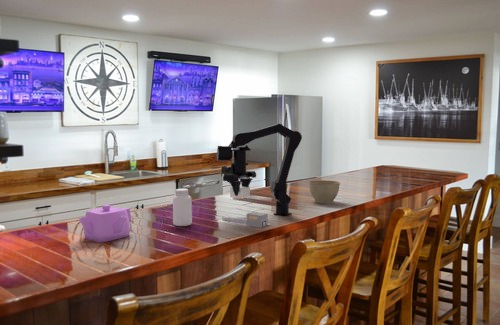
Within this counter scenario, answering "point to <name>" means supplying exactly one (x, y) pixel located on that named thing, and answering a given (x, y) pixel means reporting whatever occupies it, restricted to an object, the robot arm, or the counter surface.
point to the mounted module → (257, 218)
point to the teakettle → (106, 223)
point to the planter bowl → (324, 190)
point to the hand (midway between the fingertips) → (240, 194)
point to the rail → (238, 221)
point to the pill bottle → (182, 208)
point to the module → (240, 192)
